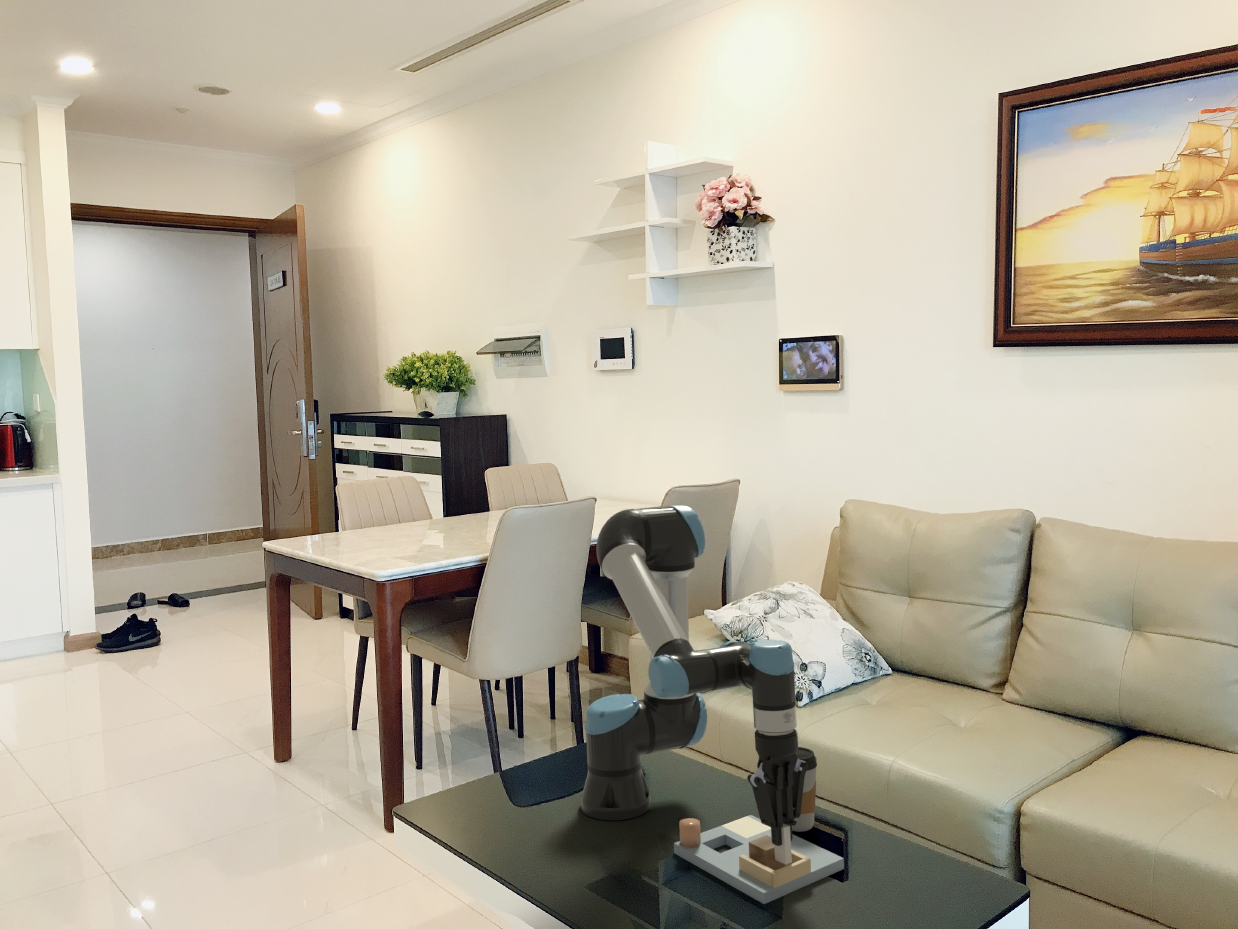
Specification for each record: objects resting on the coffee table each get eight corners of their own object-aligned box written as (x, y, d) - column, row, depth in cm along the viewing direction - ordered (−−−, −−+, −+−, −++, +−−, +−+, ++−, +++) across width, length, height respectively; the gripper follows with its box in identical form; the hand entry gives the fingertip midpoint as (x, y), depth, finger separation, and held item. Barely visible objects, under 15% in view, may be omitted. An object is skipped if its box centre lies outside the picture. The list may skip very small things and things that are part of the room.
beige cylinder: (675, 842, 186) (675, 822, 186) (691, 836, 189) (691, 816, 189) (688, 849, 183) (688, 829, 183) (705, 843, 185) (704, 823, 185)
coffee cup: (819, 835, 191) (816, 761, 191) (776, 833, 193) (774, 759, 192) (819, 817, 200) (816, 746, 199) (778, 815, 201) (775, 745, 200)
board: (674, 853, 186) (673, 830, 186) (751, 824, 198) (750, 802, 197) (764, 904, 166) (763, 878, 166) (844, 869, 177) (843, 845, 177)
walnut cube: (749, 866, 176) (748, 842, 175) (767, 858, 178) (766, 835, 178) (766, 875, 172) (765, 850, 172) (784, 867, 174) (784, 843, 174)
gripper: (763, 742, 164) (771, 879, 164) (817, 725, 171) (824, 857, 172) (733, 733, 170) (741, 865, 171) (787, 717, 178) (794, 844, 178)
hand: (783, 861), depth 171 cm, fingers closed
